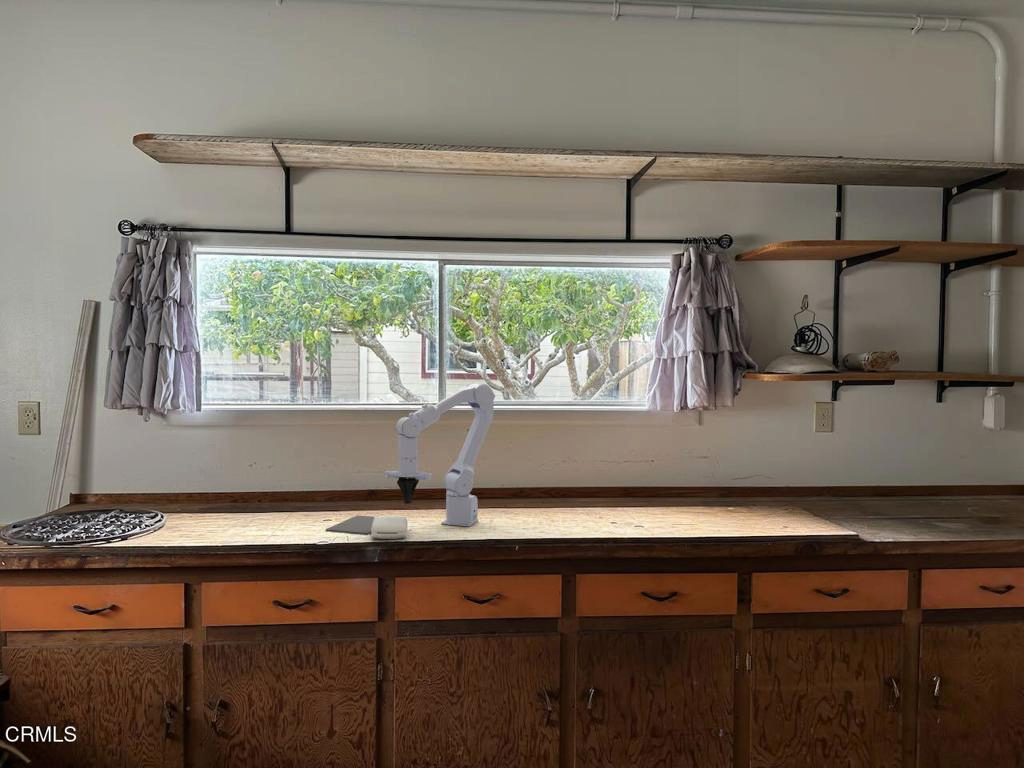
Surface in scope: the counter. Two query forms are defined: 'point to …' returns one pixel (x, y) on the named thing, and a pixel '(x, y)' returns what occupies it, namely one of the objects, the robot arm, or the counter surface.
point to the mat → (354, 525)
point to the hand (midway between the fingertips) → (408, 503)
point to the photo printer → (389, 527)
